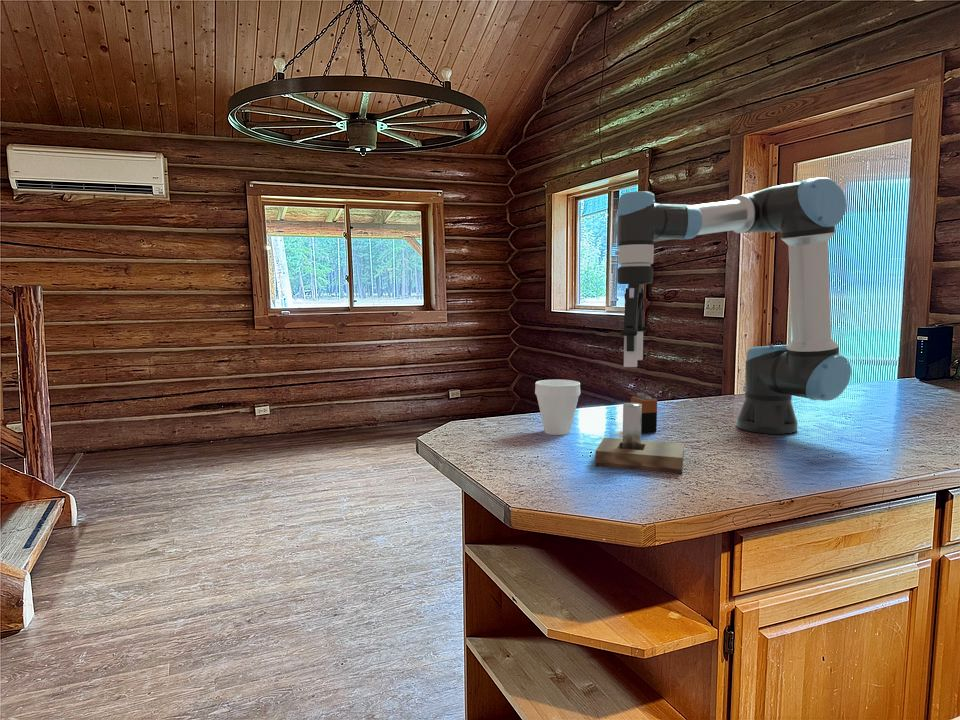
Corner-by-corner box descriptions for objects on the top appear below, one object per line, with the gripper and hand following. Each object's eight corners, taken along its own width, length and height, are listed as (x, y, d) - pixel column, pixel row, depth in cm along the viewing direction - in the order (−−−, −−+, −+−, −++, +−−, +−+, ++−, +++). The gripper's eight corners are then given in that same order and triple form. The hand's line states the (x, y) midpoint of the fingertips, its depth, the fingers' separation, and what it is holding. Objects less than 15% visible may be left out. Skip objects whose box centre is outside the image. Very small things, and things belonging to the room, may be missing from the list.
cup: (553, 425, 174) (554, 378, 173) (589, 432, 166) (589, 382, 164) (525, 432, 166) (525, 382, 164) (561, 439, 157) (561, 387, 156)
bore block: (683, 458, 139) (683, 443, 139) (682, 474, 127) (682, 457, 126) (603, 451, 145) (604, 437, 145) (595, 466, 133) (595, 450, 132)
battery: (643, 427, 171) (644, 392, 170) (657, 432, 164) (658, 396, 163) (629, 428, 170) (630, 393, 168) (643, 434, 163) (643, 397, 162)
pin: (641, 455, 138) (642, 403, 136) (639, 460, 134) (640, 406, 133) (623, 454, 139) (624, 402, 138) (621, 458, 135) (622, 405, 134)
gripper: (624, 268, 145) (622, 356, 147) (609, 264, 121) (608, 369, 124) (656, 267, 142) (655, 357, 145) (648, 263, 119) (646, 370, 121)
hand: (633, 363), depth 134 cm, fingers open, 13 cm apart
